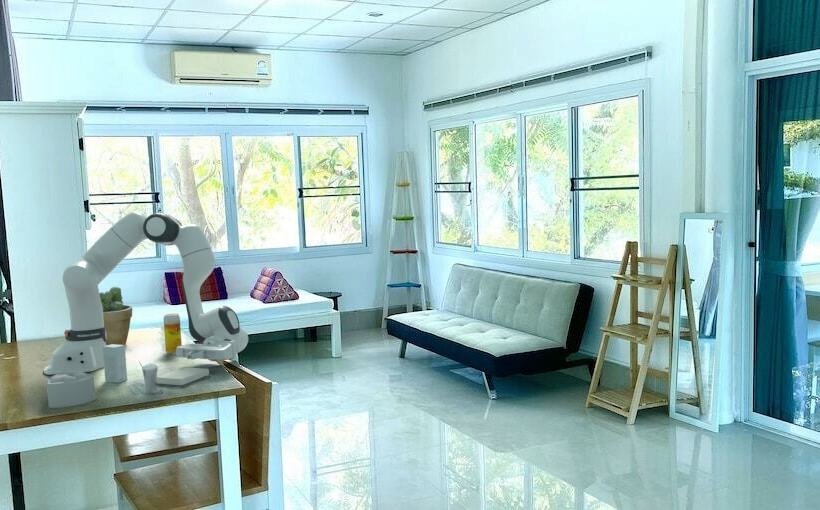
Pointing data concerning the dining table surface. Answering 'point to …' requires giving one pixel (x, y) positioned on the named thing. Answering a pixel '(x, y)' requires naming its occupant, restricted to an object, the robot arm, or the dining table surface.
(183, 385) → the mat
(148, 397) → the dining table surface
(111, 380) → the skincare box
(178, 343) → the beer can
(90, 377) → the lumpy-topped squat cylinder
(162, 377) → the tile
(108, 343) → the potted plant
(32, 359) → the dining table surface
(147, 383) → the milkshake
